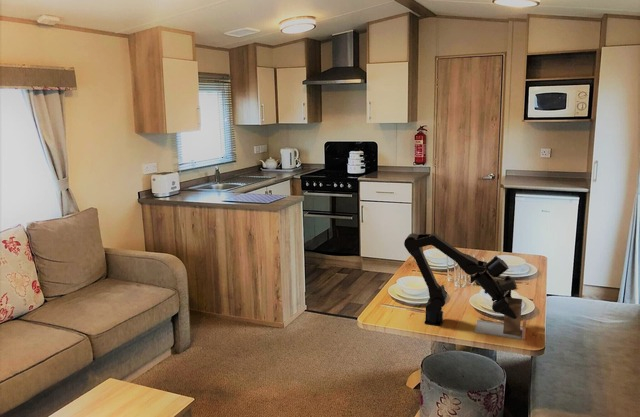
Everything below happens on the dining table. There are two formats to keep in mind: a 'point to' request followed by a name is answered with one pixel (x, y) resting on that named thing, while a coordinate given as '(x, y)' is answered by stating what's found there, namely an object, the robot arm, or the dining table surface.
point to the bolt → (496, 279)
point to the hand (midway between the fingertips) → (516, 313)
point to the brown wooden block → (509, 323)
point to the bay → (498, 329)
